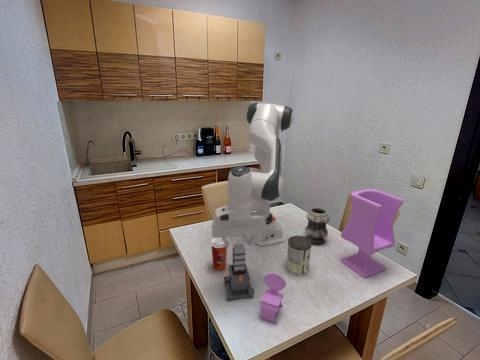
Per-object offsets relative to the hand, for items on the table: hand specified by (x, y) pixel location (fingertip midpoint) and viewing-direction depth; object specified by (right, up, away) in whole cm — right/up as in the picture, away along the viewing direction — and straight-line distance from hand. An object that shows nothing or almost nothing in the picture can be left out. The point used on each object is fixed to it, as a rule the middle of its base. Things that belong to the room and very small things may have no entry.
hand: (238, 244), depth 97 cm
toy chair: (+12, -24, -3) cm, 27 cm away
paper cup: (-9, -16, +21) cm, 28 cm away
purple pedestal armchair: (+58, -16, +23) cm, 64 cm away
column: (0, -18, +6) cm, 19 cm away
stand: (0, -20, +7) cm, 21 cm away
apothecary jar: (+42, -9, +43) cm, 61 cm away
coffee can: (+27, -16, +20) cm, 37 cm away
